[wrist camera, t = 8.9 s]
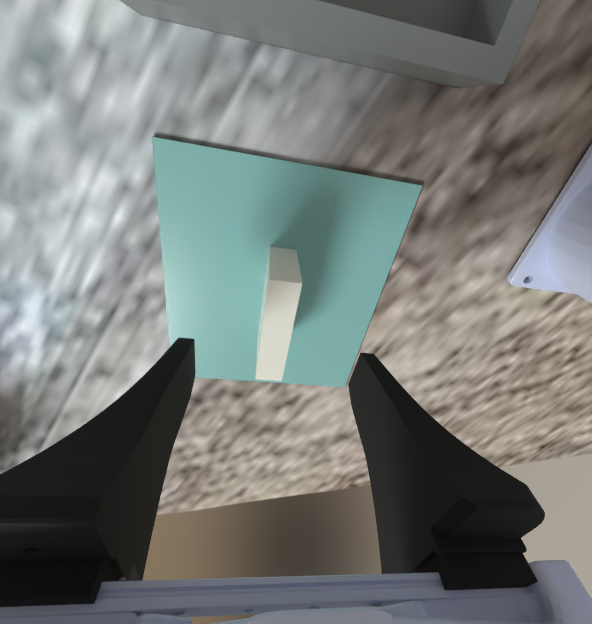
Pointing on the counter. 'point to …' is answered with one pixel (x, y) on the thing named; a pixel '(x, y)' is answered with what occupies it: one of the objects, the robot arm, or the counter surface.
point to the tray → (373, 32)
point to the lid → (273, 260)
